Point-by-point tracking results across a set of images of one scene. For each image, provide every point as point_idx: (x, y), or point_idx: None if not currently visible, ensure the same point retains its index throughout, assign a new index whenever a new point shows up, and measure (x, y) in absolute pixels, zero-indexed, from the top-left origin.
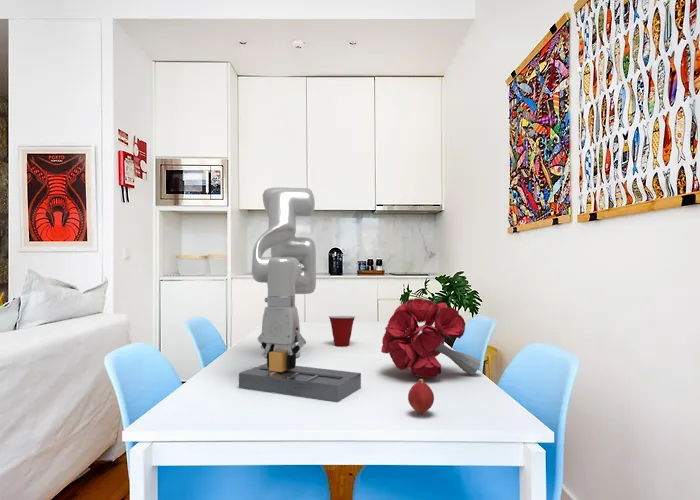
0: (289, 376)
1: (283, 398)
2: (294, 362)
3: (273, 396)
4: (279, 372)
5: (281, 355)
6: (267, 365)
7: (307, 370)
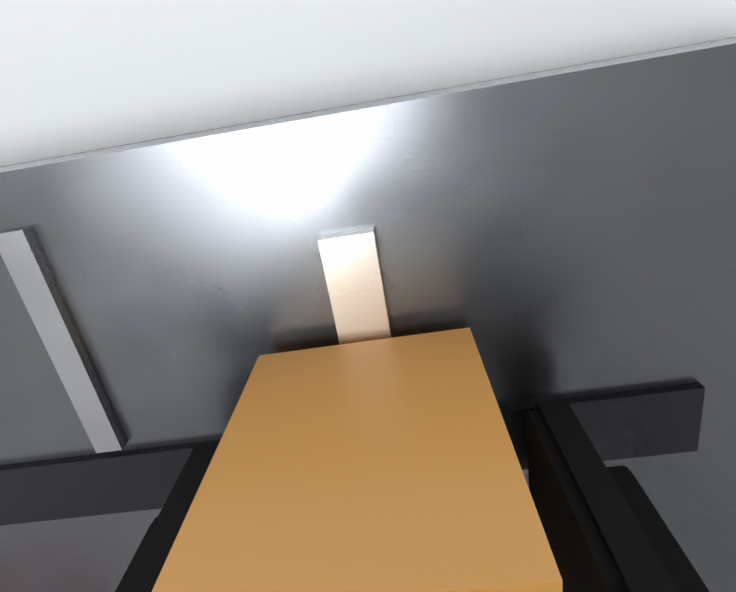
0: (25, 272)
1: (9, 21)
2: None
3: (148, 13)
4: None
5: (165, 568)
6: (570, 412)
7: None
